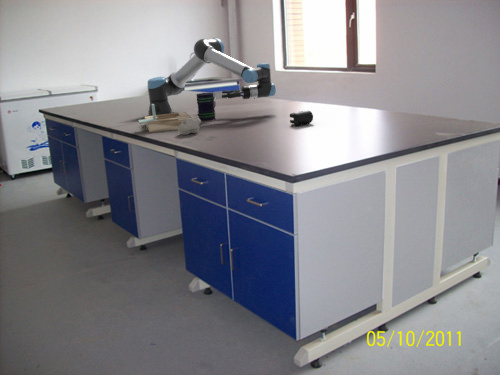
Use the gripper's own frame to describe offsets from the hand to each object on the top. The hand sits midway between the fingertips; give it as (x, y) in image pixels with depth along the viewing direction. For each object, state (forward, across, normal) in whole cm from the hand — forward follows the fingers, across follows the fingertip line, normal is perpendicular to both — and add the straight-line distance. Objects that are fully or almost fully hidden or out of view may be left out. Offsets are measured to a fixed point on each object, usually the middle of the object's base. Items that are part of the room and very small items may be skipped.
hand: (213, 95), depth 294 cm
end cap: (-35, -50, -14) cm, 63 cm away
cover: (+40, -16, -9) cm, 44 cm away
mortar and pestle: (-1, +28, -14) cm, 31 cm away
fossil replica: (+21, -39, -14) cm, 46 cm away
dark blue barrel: (+5, +1, -14) cm, 14 cm away
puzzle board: (+28, -7, -13) cm, 32 cm away
